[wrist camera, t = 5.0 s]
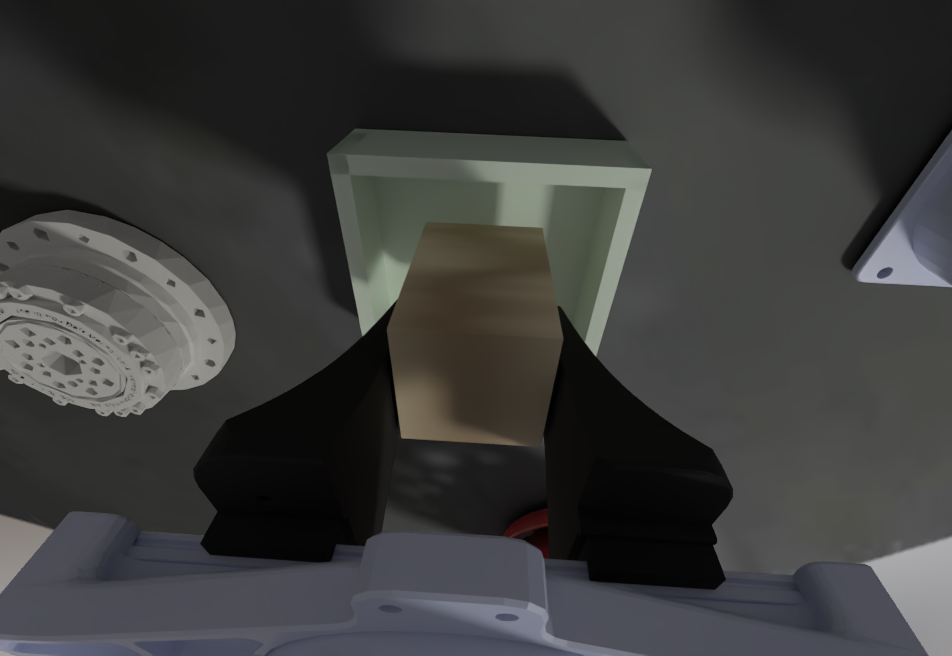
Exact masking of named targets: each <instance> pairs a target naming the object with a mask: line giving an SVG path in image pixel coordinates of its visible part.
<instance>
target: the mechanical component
mask: <svg viewBox="0 0 952 656" xmlns="http://www.w3.org/2000/svg"><path fill="white" fill-rule="evenodd" d="M235 335H236V333H235V328H234V324H233V319H232V317H231V315H230V312H229V310H228V308H227V305H226V303H225V302H224V301H223V299H222V298H221V297H220V295H219V294H218V292H217V291H216V290H215V288H214V287H213V286H212V284H211V283H210V281H209V280H208V279H207V278H206V277H205V276H204V275H203V274H202V273H200V272H199V271H198V270H197V269H196V268H195V267H194V266H193V265H192V264H191V263H190V262H188V261H187V260H186V259H185V258H184V257H183V256H181V255H180V254H178V253H177V252H176V251H174V250H173V249H171V248H170V247H168V246H167V245H166V244H164V243H163V242H161V241H159V240H158V239H156V238H154V237H152V236H150V235H148V234H146V233H144V232H143V231H141V230H139V229H137V228H135V227H132V226H130V225H127V224H124V223H122V222H119V221H116V220H114V219H111V218H108V217H105V216H99V215H94V214H89V213H83V212H78V211H72V210H63V211H56V212H50V213H44V214H38V215H35V216H33V217H31V218H28V219H26V220H24V221H22V222H20V223H18V224H15V225H13V226H11V227H9V228H7V229H4V230H2V232H1V233H0V370H3V369H5V370H6V371H8V372H9V373H10V374H9V375H8V378H9V379H10V380H12V381H13V382H15V383H19V384H22V383H25V384H26V385H28V386H30V387H32V388H34V389H36V390H38V391H40V392H42V393H44V394H47V395H49V396H51V397H53V401H54V402H56V403H57V404H59V405H66V404H67V403H68V402H69V403H72V404H75V405H79V406H82V407H85V408H91V409H95V411H96V412H97V413H98V414H100V415H102V416H108V415H109V414H110V413H111V412H112V411H114V413H115V414H116V415H118V416H123V417H126V416H127V415H128V414H129V413H130V412H132V413H134V414H139V415H141V414H142V413H143V411H144V410H145V409H147V408H151V407H153V406H154V405H155V404H156V403H157V402H159V401H160V400H161V399H162V398H163V397H164V396H165V395H166V394H167V393H168V391H169V390H185V389H189V388H192V387H196V386H199V385H203V384H205V383H206V382H207V381H209V380H210V379H212V378H213V377H215V376H216V375H217V374H218V373H219V372H220V371H221V369H222V368H223V366H224V365H225V364H226V362H227V360H228V359H229V357H230V355H231V353H232V351H233V349H234V346H235Z"/></svg>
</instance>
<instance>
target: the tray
mask: <svg viewBox="0 0 952 656" xmlns="http://www.w3.org/2000/svg"><path fill="white" fill-rule="evenodd" d="M327 158H328V163H329V168H330V173H331V179H332V184H333V189H334V194H335V199H336V204H337V209H338V214H339V219H340V224H341V230H342V235H343V240H344V245H345V250H346V255H347V260H348V265H349V270H350V276H351V281H352V286H353V291H354V296H355V301H356V306H357V311H358V316H359V322H360V327H361V332H362V336H363V335H365V334H366V333H367V331H368V330H369V329H370V328H371V327H372V326H373V325H374V324H375V323H376V322H377V321H378V320H379V319H380V318H381V317H382V316H383V315H384V314H385V313H386V311H387V310H388V309H389V308H390V307H391V306H392V305H393V303H394V302H395V301H396V300H397V299H398V297H399V294H400V292H401V289H402V286H403V283H404V281H405V278H406V275H407V273H408V270H409V267H410V264H411V262H412V259H413V256H414V253H415V251H416V248H417V245H418V243H419V240H420V237H421V234H422V232H423V229H424V226H425V223H426V222H437V223H458V224H478V225H498V226H518V227H538V228H543V234H544V239H545V244H546V249H547V255H548V260H549V265H550V271H551V276H552V281H553V286H554V292H555V297H556V302H557V306H560V307H561V308H562V309H563V311H564V312H565V314H566V315H567V317H568V319H569V320H570V322H571V323H572V325H573V326H574V328H575V329H576V331H577V332H578V334H579V335H580V336H581V338H582V339H583V340H584V342H585V343H586V344H587V346H588V347H589V348H590V350H591V351H592V352H593V354H594V355H595V356H596V355H597V351H598V348H599V345H600V341H601V338H602V335H603V331H604V328H605V325H606V321H607V318H608V315H609V311H610V308H611V305H612V301H613V298H614V295H615V291H616V288H617V284H618V281H619V278H620V274H621V271H622V268H623V264H624V261H625V258H626V254H627V251H628V248H629V244H630V241H631V238H632V234H633V231H634V228H635V224H636V221H637V218H638V214H639V211H640V208H641V204H642V201H643V197H644V194H645V191H646V187H647V184H648V181H649V177H650V174H651V171H652V168H651V167H650V166H649V165H648V164H647V163H646V161H645V160H644V159H643V158H642V157H641V156H640V155H639V153H638V152H637V151H636V150H635V149H634V148H633V147H632V145H631V144H630V143H629V142H628V141H616V140H595V139H573V138H551V137H529V136H507V135H485V134H464V133H442V132H420V131H398V130H376V129H354V130H353V131H352V132H351V133H350V134H349V135H347V136H346V137H345V138H344V139H343V140H342V141H340V142H339V143H338V144H337V145H336V146H335V147H334V148H332V149H331V150H330V151H329V152H328V153H327Z"/></svg>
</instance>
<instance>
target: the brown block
mask: <svg viewBox="0 0 952 656" xmlns="http://www.w3.org/2000/svg"><path fill="white" fill-rule="evenodd" d="M387 335H388V342H389V350H390V357H391V364H392V372H393V379H394V387H395V394H396V402H397V409H398V416H399V424H400V431H401V438H405V439H421V440H438V441H454V442H470V443H486V444H503V445H519V446H535V447H541V442H542V438H543V433H544V428H545V423H546V419H547V414H548V409H549V405H550V400H551V395H552V390H553V386H554V381H555V376H556V372H557V367H558V362H559V357H560V353H561V348H562V343H563V334H562V329H561V323H560V318H559V313H558V308H557V302H556V297H555V292H554V286H553V281H552V276H551V271H550V265H549V260H548V255H547V249H546V244H545V239H544V234H543V228H538V227H518V226H498V225H478V224H458V223H437V222H426V223H425V226H424V229H423V232H422V234H421V237H420V240H419V243H418V245H417V248H416V251H415V253H414V256H413V259H412V262H411V264H410V267H409V270H408V273H407V275H406V278H405V281H404V283H403V286H402V289H401V292H400V294H399V297H398V300H397V302H396V305H395V308H394V311H393V313H392V316H391V319H390V322H389V324H388V327H387Z"/></svg>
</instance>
